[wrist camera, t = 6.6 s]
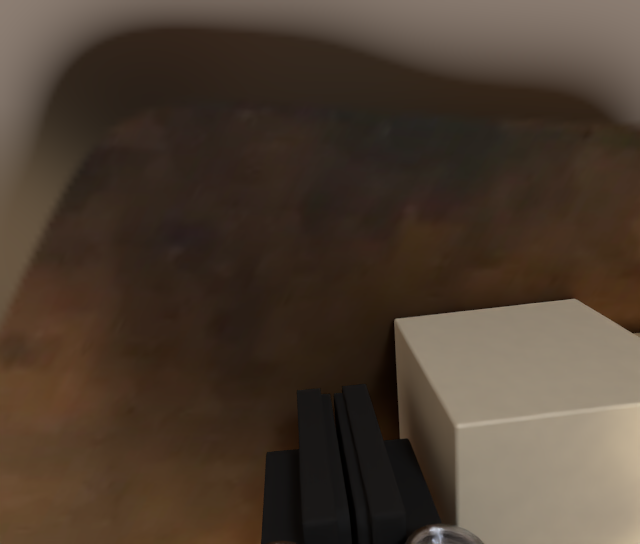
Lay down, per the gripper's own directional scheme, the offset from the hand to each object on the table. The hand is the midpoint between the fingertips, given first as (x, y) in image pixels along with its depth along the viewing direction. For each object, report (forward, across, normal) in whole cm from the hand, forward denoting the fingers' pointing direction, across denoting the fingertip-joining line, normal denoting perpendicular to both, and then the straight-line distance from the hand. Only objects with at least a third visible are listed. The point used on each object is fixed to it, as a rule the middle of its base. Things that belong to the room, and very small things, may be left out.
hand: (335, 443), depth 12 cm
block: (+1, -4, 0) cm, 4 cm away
